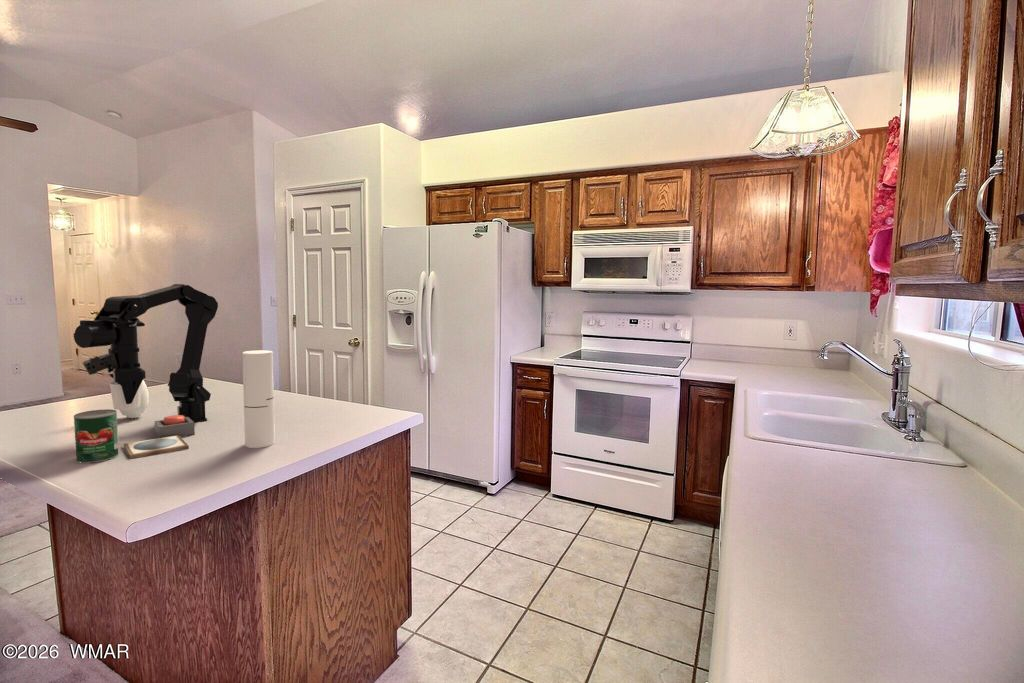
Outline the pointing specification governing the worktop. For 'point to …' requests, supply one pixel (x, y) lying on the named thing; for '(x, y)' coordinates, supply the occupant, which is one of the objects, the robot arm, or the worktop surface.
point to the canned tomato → (96, 435)
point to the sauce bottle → (143, 406)
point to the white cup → (119, 398)
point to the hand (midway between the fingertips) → (127, 401)
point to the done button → (174, 420)
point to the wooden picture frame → (155, 446)
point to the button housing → (174, 428)
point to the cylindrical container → (258, 398)
